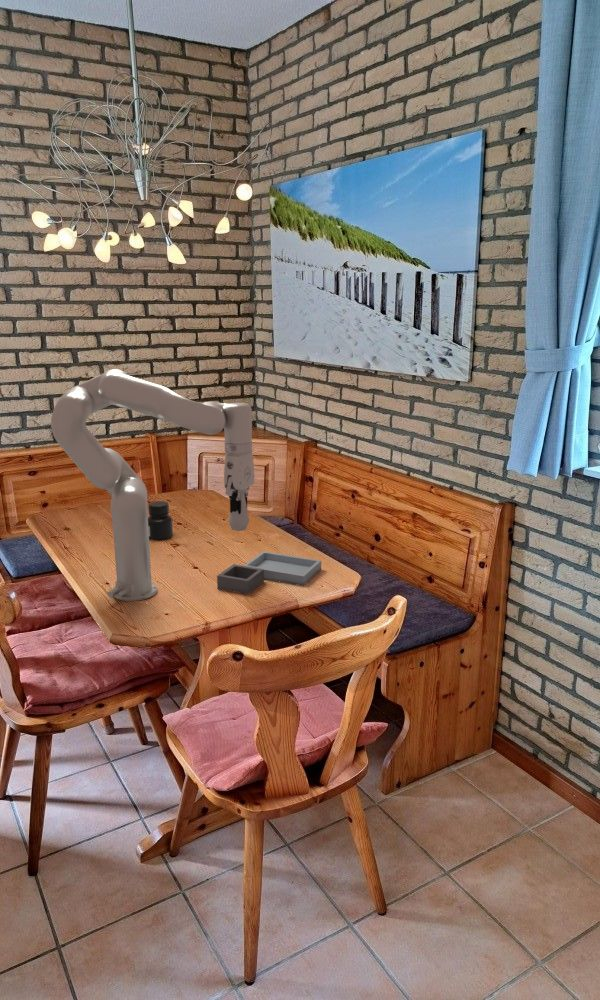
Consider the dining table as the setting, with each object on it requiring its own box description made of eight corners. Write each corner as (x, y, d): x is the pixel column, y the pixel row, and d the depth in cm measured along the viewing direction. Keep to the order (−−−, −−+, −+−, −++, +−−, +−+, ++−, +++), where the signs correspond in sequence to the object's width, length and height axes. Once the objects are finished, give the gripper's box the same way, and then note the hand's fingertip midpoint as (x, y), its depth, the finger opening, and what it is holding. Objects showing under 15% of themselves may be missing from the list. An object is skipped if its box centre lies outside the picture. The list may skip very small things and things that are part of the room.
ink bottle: (155, 531, 254) (153, 499, 251) (177, 533, 252) (176, 501, 248) (142, 539, 245) (140, 506, 242) (165, 542, 243) (163, 508, 239)
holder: (248, 594, 201) (248, 581, 200) (217, 588, 205) (217, 575, 204) (263, 581, 210) (263, 569, 209) (233, 576, 213) (233, 564, 212)
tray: (303, 585, 207) (303, 576, 206) (242, 575, 215) (242, 566, 214) (321, 569, 219) (321, 560, 219) (263, 560, 227) (263, 551, 226)
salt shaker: (240, 533, 198) (240, 488, 195) (224, 529, 201) (224, 485, 198) (252, 527, 203) (253, 484, 200) (236, 524, 206) (236, 481, 202)
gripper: (236, 455, 187) (236, 521, 192) (263, 444, 202) (263, 506, 207) (211, 452, 190) (212, 517, 195) (240, 441, 204) (240, 502, 210)
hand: (238, 511), depth 201 cm, fingers closed on salt shaker, 3 cm apart
